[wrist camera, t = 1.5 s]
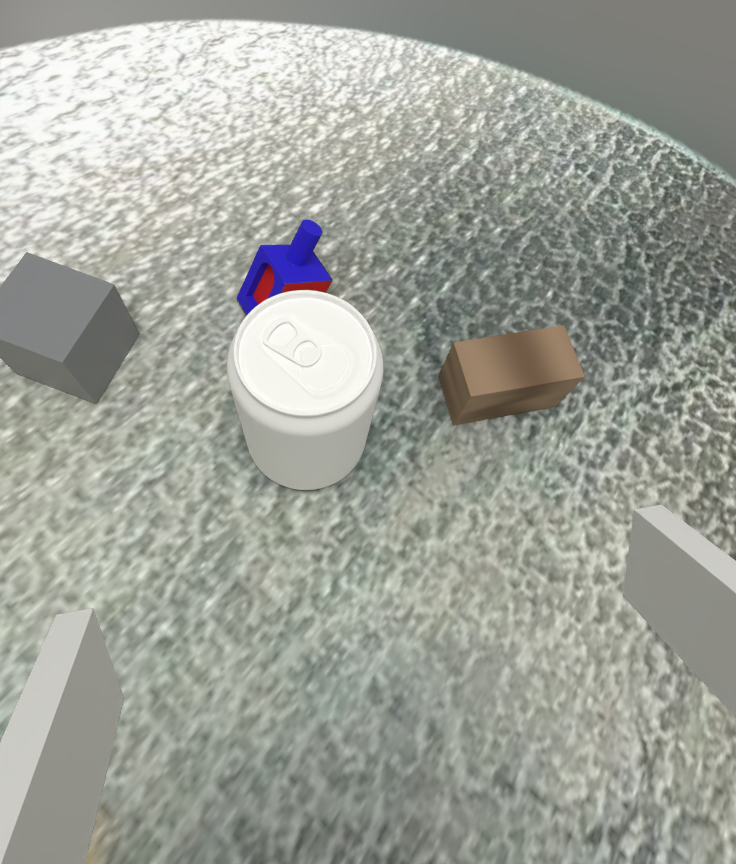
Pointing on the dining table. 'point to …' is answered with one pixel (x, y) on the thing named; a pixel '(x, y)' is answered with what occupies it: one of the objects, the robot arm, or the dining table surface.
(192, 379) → the dining table surface
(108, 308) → the grey cube
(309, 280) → the toy building block
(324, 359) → the beverage can
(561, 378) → the walnut brick
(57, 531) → the dining table surface
